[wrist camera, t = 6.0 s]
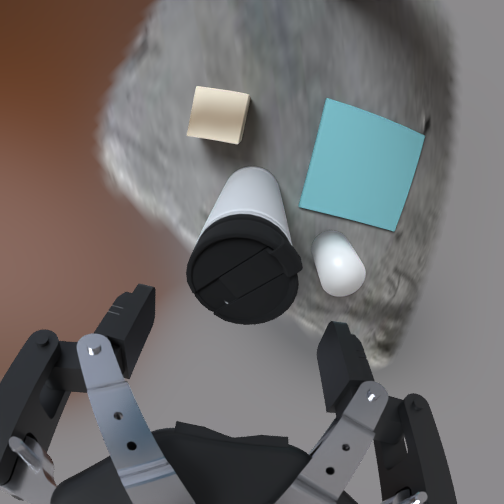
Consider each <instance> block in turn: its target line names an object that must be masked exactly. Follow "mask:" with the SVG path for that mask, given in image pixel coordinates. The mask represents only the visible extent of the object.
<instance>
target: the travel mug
mask: <svg viewBox="0 0 504 504" xmlns="http://www.w3.org/2000/svg"><path fill="white" fill-rule="evenodd" d="M302 268H303V267H302V262H301V258H300V256H299V255H298V253H297V252H296V250H295V249H294V248H293V246H292V241H291V237H290V232H289V228H288V223H287V219H286V214H285V210H284V206H283V202H282V197H281V193H280V189H279V185H278V182H277V180H276V179H275V177H274V176H273V175H272V174H271V173H270V172H269V171H267V170H266V169H264V168H262V167H258V166H246V167H243V168H240V169H238V170H237V171H235V172H234V173H233V174H232V175H231V176H230V177H229V179H228V181H227V182H226V184H225V186H224V188H223V190H222V192H221V194H220V196H219V198H218V200H217V202H216V204H215V206H214V208H213V209H212V211H211V213H210V215H209V217H208V219H207V221H206V223H205V225H204V227H203V229H202V231H201V234H200V236H199V238H198V240H197V243H196V245H195V248H194V250H193V252H192V254H191V257H190V259H189V262H188V264H187V272H186V275H187V282H188V284H189V286H190V289H191V290H192V293H194V294H195V297H196V298H197V299H198V300H199V301H200V303H201V304H202V305H203V306H205V307H206V308H207V309H208V310H210V311H213V312H214V315H216V316H218V317H219V318H221V319H223V320H225V321H228V322H232V323H236V324H244V325H249V324H259V323H265V322H267V321H270V320H273V319H275V318H277V317H278V316H280V315H282V314H283V313H284V312H285V311H286V310H287V309H288V308H289V307H290V306H291V304H292V303H293V302H294V299H295V297H296V295H297V290H298V276H297V273H298V272H300V271H301V270H302Z"/></svg>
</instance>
